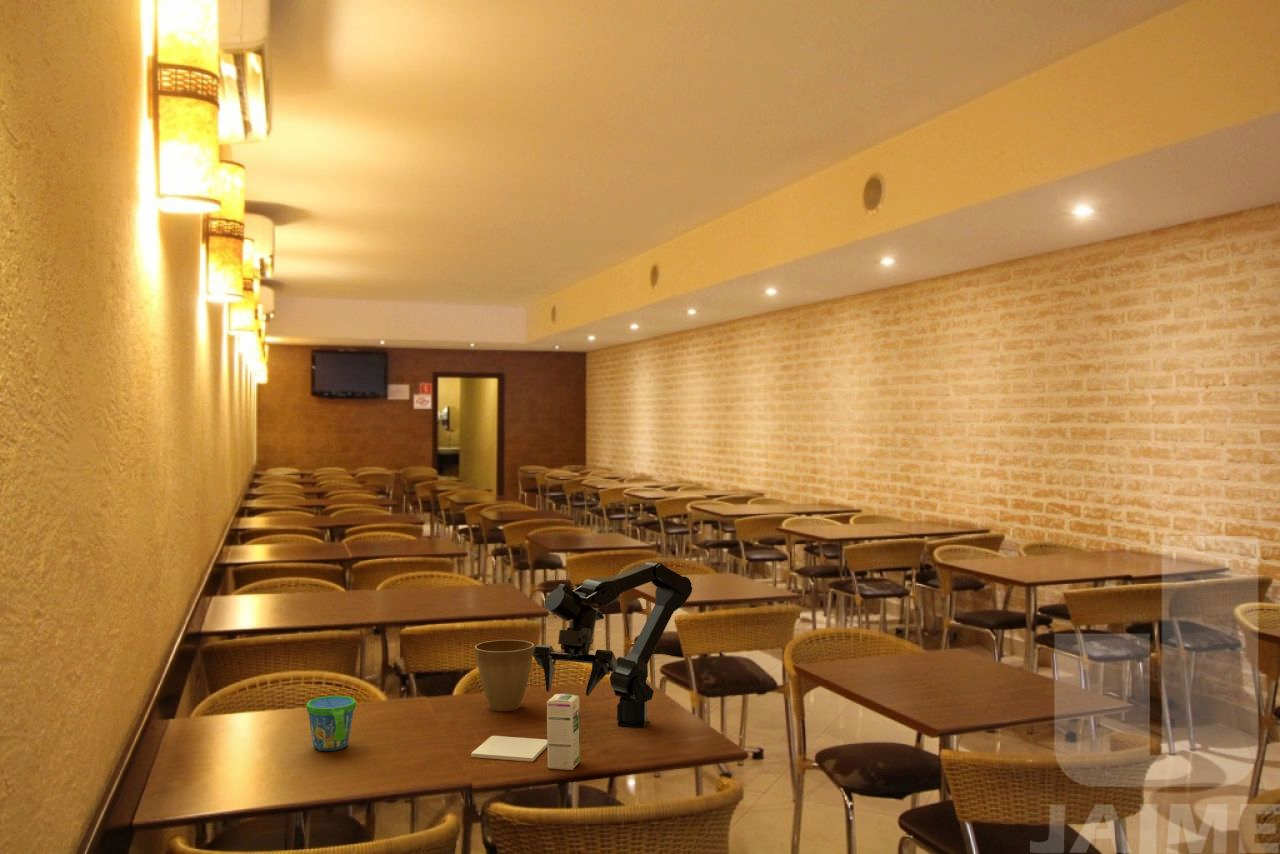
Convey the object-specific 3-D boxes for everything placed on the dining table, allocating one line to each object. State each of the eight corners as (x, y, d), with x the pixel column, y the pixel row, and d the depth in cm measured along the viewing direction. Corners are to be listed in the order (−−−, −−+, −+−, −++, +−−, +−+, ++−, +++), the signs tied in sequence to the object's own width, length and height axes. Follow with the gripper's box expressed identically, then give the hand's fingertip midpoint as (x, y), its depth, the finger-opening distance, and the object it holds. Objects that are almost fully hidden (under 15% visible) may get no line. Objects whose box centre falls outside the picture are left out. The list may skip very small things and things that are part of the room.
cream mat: (550, 743, 234) (550, 739, 234) (532, 761, 222) (532, 758, 221) (491, 739, 237) (491, 735, 237) (471, 756, 224) (471, 753, 224)
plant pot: (541, 701, 269) (541, 640, 269) (522, 717, 254) (522, 653, 254) (487, 698, 272) (488, 637, 272) (465, 713, 258) (465, 649, 258)
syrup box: (573, 770, 216) (573, 701, 216) (546, 768, 217) (546, 699, 217) (580, 761, 222) (580, 694, 222) (553, 759, 223) (554, 692, 223)
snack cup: (361, 754, 226) (361, 707, 226) (311, 760, 221) (311, 713, 221) (349, 734, 240) (349, 690, 240) (302, 740, 236) (302, 695, 236)
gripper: (534, 610, 235) (517, 674, 225) (613, 616, 230) (599, 682, 221) (546, 632, 243) (531, 695, 234) (622, 638, 239) (610, 703, 229)
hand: (567, 693), depth 229 cm, fingers open, 9 cm apart
